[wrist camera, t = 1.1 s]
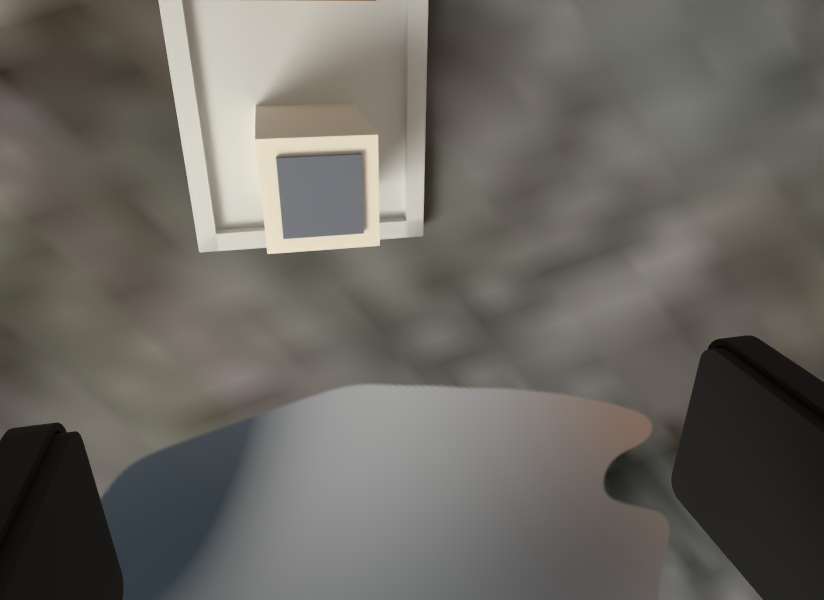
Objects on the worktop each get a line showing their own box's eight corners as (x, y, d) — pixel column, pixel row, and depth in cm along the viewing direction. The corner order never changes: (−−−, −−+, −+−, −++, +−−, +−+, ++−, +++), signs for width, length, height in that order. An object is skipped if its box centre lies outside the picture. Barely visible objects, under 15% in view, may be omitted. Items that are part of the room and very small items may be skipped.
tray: (128, -212, 20) (122, -220, 19) (425, -191, 22) (432, -197, 21) (201, 243, 27) (199, 252, 26) (418, 228, 29) (423, 236, 28)
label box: (255, 105, 25) (255, 140, 19) (353, 102, 25) (379, 135, 20) (265, 200, 27) (267, 256, 21) (356, 195, 27) (380, 247, 22)
